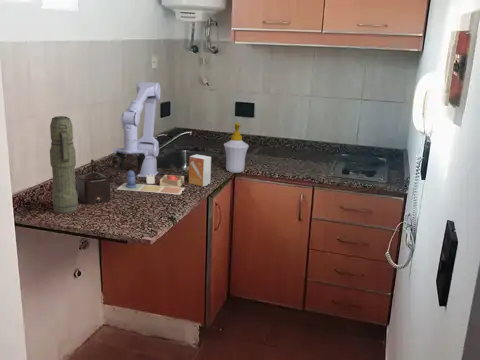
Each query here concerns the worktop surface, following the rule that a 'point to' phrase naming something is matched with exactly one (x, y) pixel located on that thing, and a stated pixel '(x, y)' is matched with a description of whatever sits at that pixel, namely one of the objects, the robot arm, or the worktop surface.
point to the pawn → (131, 179)
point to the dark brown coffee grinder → (95, 184)
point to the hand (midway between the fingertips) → (131, 170)
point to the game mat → (153, 189)
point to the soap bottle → (235, 152)
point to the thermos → (63, 166)
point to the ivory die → (150, 178)
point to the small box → (199, 170)
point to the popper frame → (172, 181)
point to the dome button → (172, 178)
